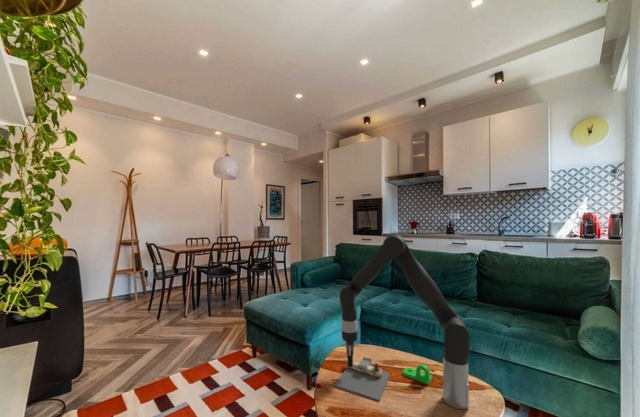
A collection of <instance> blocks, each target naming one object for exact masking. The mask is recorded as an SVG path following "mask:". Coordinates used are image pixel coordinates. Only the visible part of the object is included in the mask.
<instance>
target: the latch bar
mask: <svg viewBox="0 0 640 417" xmlns="http://www.w3.org/2000/svg"><path fill="white" fill-rule="evenodd" d="M360 362H361V361H357V360H354V359H353V366H352V367H349V366H348V360H347V361H346V368H347V367H349V368H352V369H354V370H357V371H360V372H363V373H366V374H369V375H372V376H373V377H375V378H380V377H381V376H382V371H383V369H382V368H380V365H379V363H378V362H375V363H374V366H368V368H367V369H365V368H361V367H359V364H360Z"/></svg>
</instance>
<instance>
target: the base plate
mask: <svg viewBox="0 0 640 417" xmlns="http://www.w3.org/2000/svg"><path fill="white" fill-rule="evenodd" d="M390 375H391V373H390V372H387V371H383V370H382V376H381V377H380V378H375V377H373V376H372V375H369V374H366V373H363V372H360V371H357V370H354V369H352V368H349V367H347V366H346V368H345V370H344V371H343V372H342V374H341V375H340V376H339V378H338V380H337V381H336V383H335V384H334V388H337V389H340V390H343V391H346V392H349V393H352V394H355V395H358V396H361V397H364V398H367V399H369V400H373V401H376V402H380V401H381V398H382V396H383V393H384V390H385V388H386V386H387V384H388V380H389V378H390Z"/></svg>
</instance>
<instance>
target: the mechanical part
mask: <svg viewBox="0 0 640 417" xmlns="http://www.w3.org/2000/svg"><path fill="white" fill-rule="evenodd" d="M430 371H431V370H430V369H429V367H428V366H427V365H426V364H424V363H420V364H418V365H417V367H416V368H412V367H405V368H404V369H403V371H402V376H404V377H407V378H410V379H412V380H415V381H418V382H420V383H423V384H426V385H429V384H430V382H431V381H432V379H433V375H432V374H431V372H430ZM429 386H430V385H429Z"/></svg>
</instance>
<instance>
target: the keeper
mask: <svg viewBox="0 0 640 417" xmlns="http://www.w3.org/2000/svg"><path fill="white" fill-rule="evenodd" d="M359 362H360V364H359V367H361V368H365V369H367V368H368V366H372V364H373V362H372V358H370V357H365V356H363V358H362V359H361V360H360V361H359ZM372 367H373V366H372Z"/></svg>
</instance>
